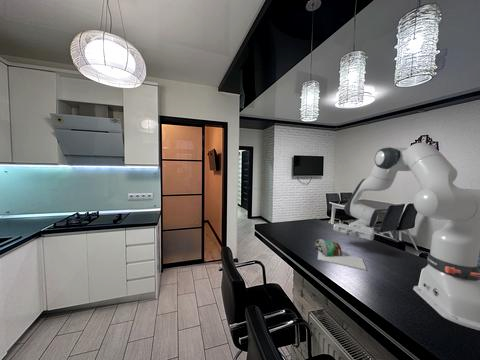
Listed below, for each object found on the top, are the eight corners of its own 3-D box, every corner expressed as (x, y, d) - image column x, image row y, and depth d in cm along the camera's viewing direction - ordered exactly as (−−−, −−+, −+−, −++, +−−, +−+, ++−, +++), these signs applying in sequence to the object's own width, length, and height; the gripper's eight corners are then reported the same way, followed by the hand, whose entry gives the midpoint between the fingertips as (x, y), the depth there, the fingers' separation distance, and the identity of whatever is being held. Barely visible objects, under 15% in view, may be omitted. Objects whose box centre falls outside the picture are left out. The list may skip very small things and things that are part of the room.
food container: (344, 244, 95) (323, 243, 95) (343, 257, 95) (322, 255, 95) (332, 237, 107) (314, 236, 108) (331, 248, 107) (313, 246, 108)
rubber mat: (366, 270, 84) (366, 269, 84) (317, 259, 92) (317, 258, 92) (361, 259, 95) (362, 258, 95) (318, 250, 103) (318, 250, 103)
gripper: (338, 219, 121) (329, 223, 112) (377, 228, 106) (370, 233, 97) (338, 229, 122) (328, 233, 113) (376, 239, 107) (368, 245, 98)
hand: (348, 233), depth 105 cm, fingers closed
